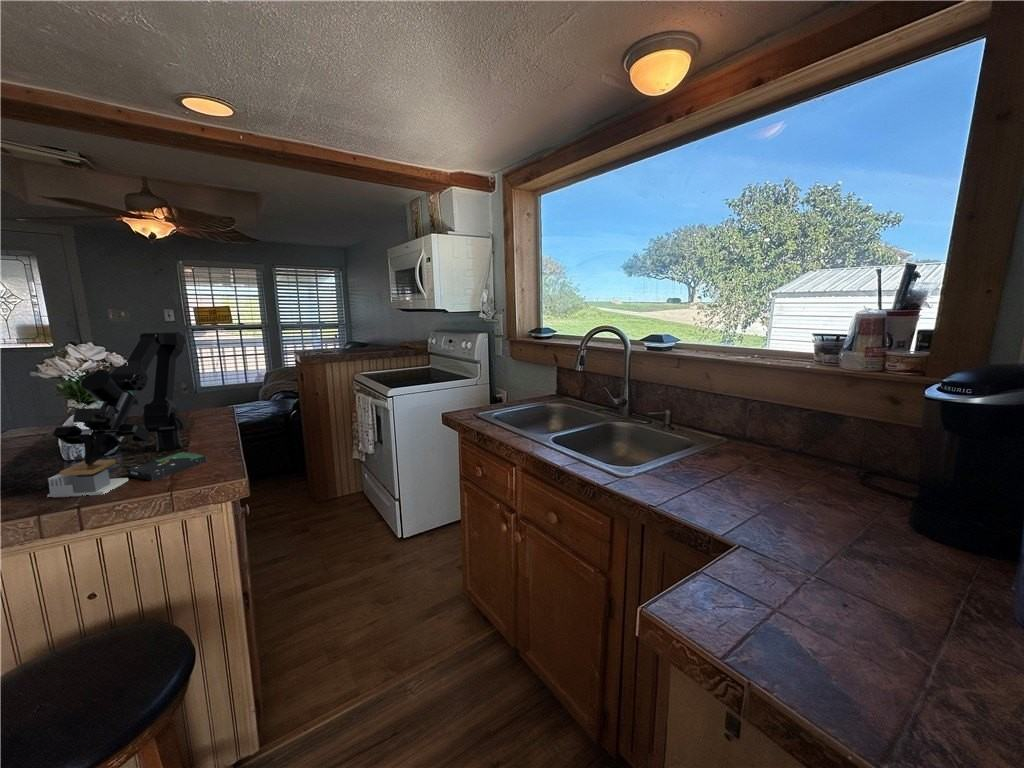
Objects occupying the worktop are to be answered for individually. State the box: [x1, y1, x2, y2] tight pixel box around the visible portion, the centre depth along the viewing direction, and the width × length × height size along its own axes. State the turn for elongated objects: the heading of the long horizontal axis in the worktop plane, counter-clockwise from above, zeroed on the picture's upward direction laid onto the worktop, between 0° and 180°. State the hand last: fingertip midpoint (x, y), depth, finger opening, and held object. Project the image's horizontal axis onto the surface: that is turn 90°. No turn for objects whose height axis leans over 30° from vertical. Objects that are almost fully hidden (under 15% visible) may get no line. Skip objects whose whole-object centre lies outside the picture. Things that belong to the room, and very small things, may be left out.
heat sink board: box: [46, 468, 129, 498], centre depth 106 cm, size 8×12×5 cm
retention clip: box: [59, 458, 117, 477], centre depth 104 cm, size 7×7×6 cm
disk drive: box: [126, 451, 208, 482], centre depth 119 cm, size 10×3×15 cm
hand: (88, 464), depth 104 cm, fingers closed, pressing on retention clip
